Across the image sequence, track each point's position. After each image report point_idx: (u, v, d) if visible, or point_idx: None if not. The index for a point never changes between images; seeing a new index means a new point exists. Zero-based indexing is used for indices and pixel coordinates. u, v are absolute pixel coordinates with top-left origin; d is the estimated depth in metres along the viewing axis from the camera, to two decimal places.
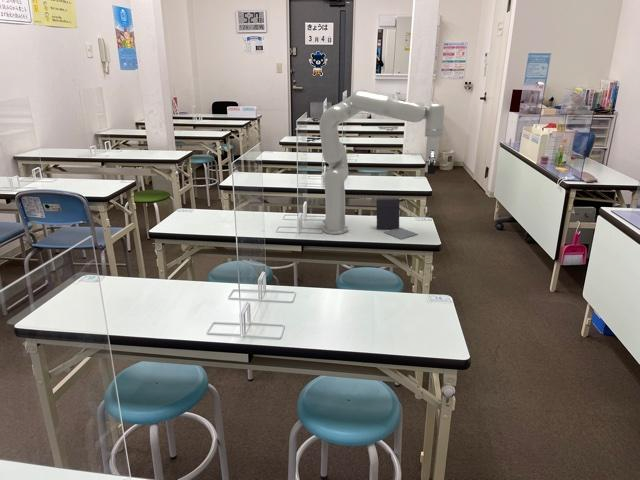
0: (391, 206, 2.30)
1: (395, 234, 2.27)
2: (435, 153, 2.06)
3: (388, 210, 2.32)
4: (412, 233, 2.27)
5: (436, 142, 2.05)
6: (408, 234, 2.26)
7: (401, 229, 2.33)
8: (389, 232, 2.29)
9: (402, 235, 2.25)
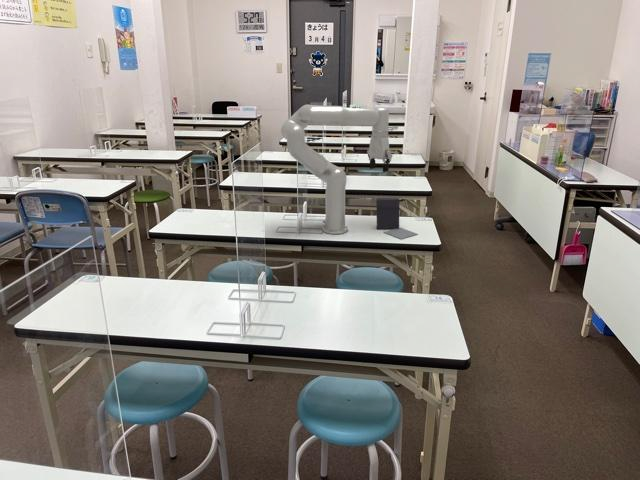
0: (391, 206, 2.30)
1: (395, 234, 2.27)
2: None
3: (388, 210, 2.32)
4: (412, 233, 2.27)
5: (388, 142, 2.25)
6: (408, 234, 2.26)
7: (401, 229, 2.33)
8: (389, 232, 2.29)
9: (402, 235, 2.25)
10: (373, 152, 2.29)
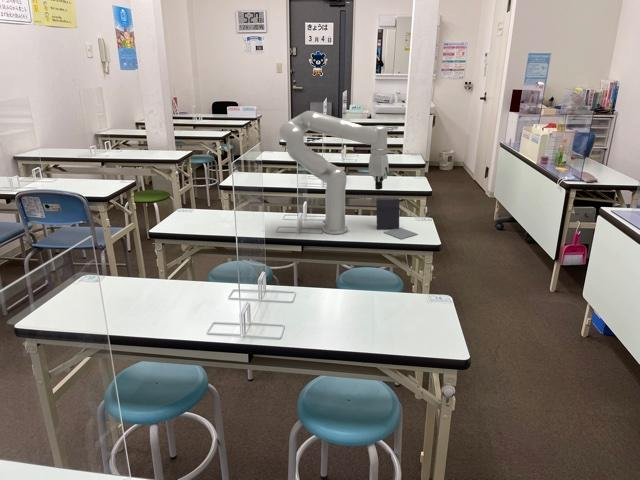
0: (391, 206, 2.30)
1: (395, 234, 2.27)
2: (387, 169, 2.29)
3: (388, 210, 2.32)
4: (412, 233, 2.27)
5: (387, 160, 2.28)
6: (408, 234, 2.26)
7: (401, 229, 2.33)
8: (389, 232, 2.29)
9: (402, 235, 2.25)
10: (373, 169, 2.32)
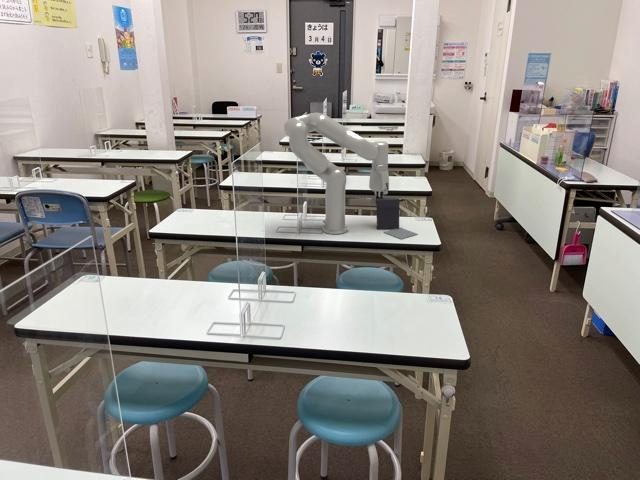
0: (391, 206, 2.30)
1: (395, 234, 2.27)
2: (388, 185, 2.31)
3: (388, 210, 2.32)
4: (412, 233, 2.27)
5: (388, 175, 2.30)
6: (408, 234, 2.26)
7: (401, 229, 2.33)
8: (389, 232, 2.29)
9: (402, 235, 2.25)
10: (373, 185, 2.34)
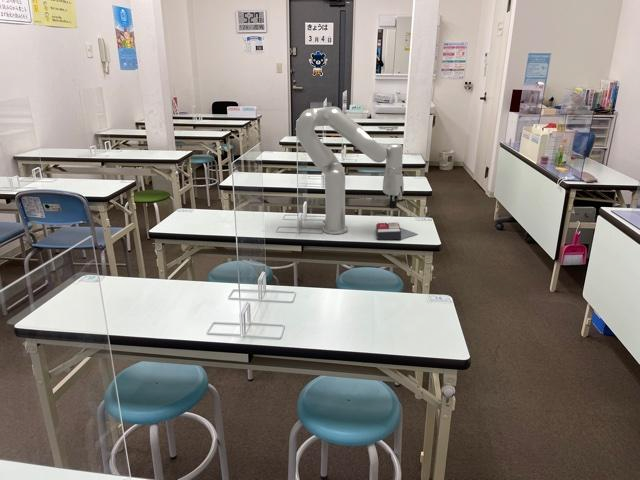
0: None
1: None
2: (402, 188, 2.23)
3: None
4: (412, 233, 2.27)
5: (402, 178, 2.22)
6: (408, 234, 2.26)
7: (401, 229, 2.33)
8: None
9: (402, 235, 2.25)
10: (387, 188, 2.26)
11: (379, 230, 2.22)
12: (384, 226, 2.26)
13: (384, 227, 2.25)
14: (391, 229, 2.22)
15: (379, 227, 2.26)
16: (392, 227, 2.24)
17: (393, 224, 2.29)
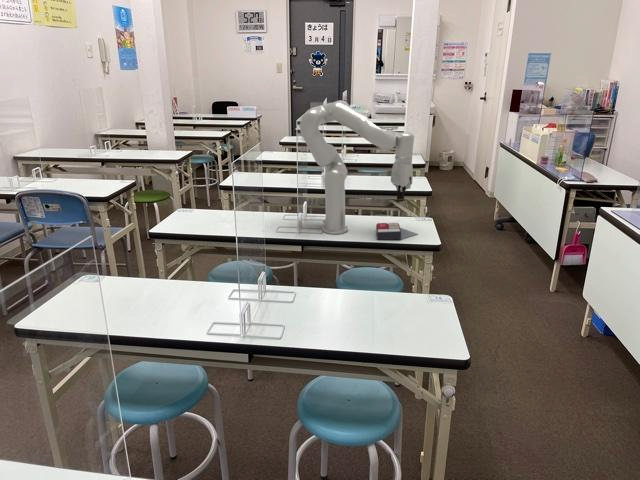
0: None
1: None
2: (411, 179, 2.17)
3: None
4: (412, 233, 2.27)
5: (412, 169, 2.15)
6: (408, 234, 2.26)
7: (401, 229, 2.33)
8: None
9: (402, 235, 2.25)
10: (395, 178, 2.19)
11: (379, 230, 2.22)
12: (384, 226, 2.26)
13: (384, 227, 2.25)
14: (391, 229, 2.22)
15: (379, 227, 2.26)
16: (392, 227, 2.24)
17: (393, 224, 2.29)
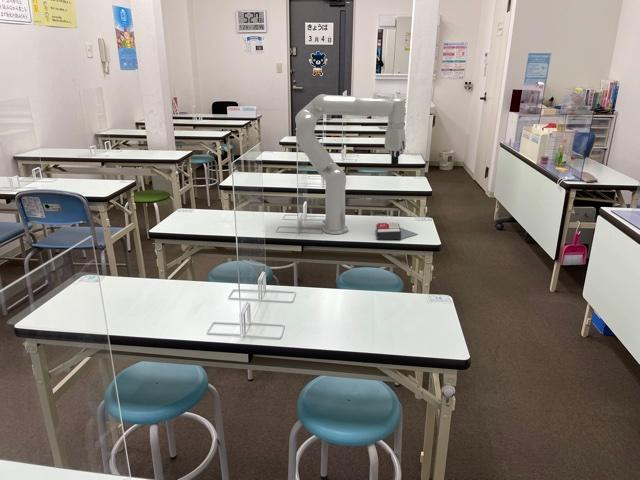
0: None
1: None
2: (404, 144, 2.23)
3: None
4: (412, 233, 2.27)
5: (404, 133, 2.22)
6: (408, 234, 2.26)
7: (401, 229, 2.33)
8: None
9: (402, 235, 2.25)
10: (389, 144, 2.25)
11: (379, 230, 2.22)
12: (384, 226, 2.26)
13: (384, 227, 2.25)
14: (391, 229, 2.22)
15: (379, 227, 2.26)
16: (392, 227, 2.24)
17: (393, 224, 2.29)
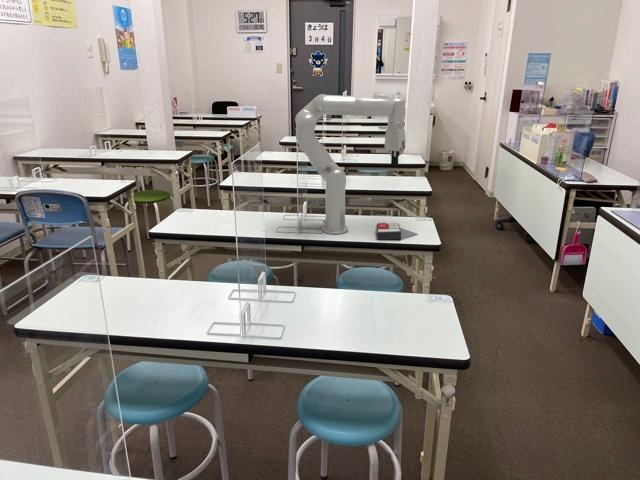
0: None
1: None
2: (404, 144, 2.23)
3: None
4: (412, 233, 2.27)
5: (404, 133, 2.22)
6: (408, 234, 2.26)
7: (401, 229, 2.33)
8: None
9: (402, 235, 2.25)
10: (389, 144, 2.26)
11: (379, 230, 2.22)
12: (384, 226, 2.26)
13: (384, 227, 2.25)
14: (391, 229, 2.22)
15: (379, 227, 2.26)
16: (392, 227, 2.24)
17: (393, 224, 2.29)
